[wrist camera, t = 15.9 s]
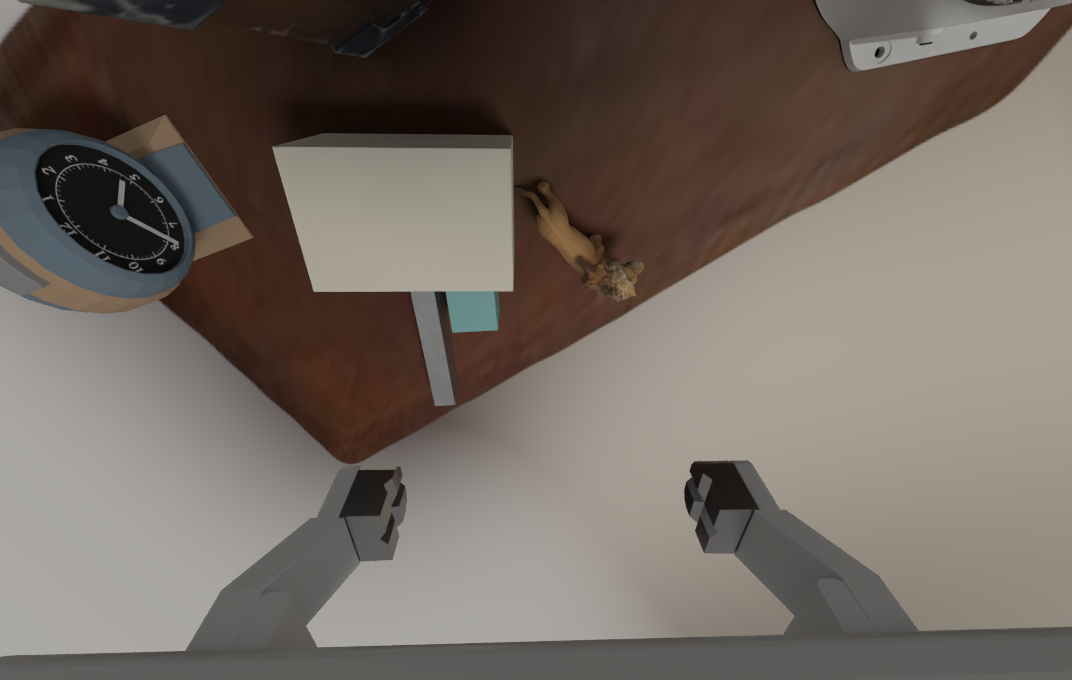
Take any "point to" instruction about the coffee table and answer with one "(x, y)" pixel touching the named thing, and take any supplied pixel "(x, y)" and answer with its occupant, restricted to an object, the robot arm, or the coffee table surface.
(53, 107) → the coffee table surface
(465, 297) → the cube
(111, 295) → the alarm clock
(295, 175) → the block
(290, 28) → the decorative book
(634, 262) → the lion figurine
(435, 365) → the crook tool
